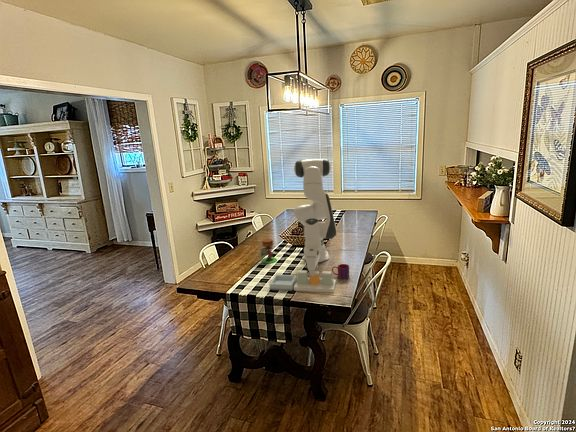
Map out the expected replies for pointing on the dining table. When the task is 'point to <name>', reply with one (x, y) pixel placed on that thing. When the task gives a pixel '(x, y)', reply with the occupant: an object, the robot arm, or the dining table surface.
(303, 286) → the fuse holder
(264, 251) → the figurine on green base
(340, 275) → the mug
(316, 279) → the orange fuse
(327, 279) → the green fuse
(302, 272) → the green fuse
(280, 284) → the tray
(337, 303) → the dining table surface
